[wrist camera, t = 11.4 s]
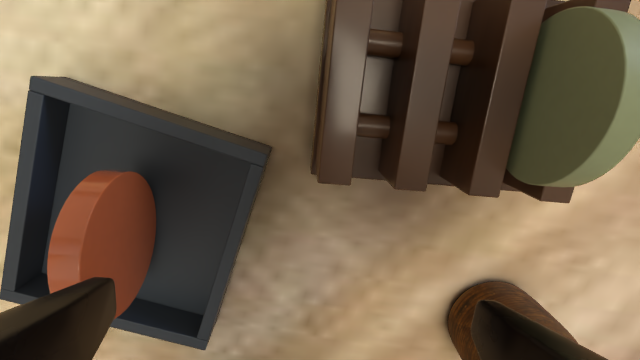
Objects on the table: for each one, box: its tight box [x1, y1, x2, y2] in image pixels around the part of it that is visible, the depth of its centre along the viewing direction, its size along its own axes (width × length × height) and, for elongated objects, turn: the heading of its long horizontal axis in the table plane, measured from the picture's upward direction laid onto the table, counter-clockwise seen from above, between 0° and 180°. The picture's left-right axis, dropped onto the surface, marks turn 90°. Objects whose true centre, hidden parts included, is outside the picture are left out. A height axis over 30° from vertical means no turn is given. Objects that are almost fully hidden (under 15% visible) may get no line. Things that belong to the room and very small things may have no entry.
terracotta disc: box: [47, 169, 156, 319], centre depth 16 cm, size 7×1×7 cm, turn 174°
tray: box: [0, 76, 272, 350], centre depth 19 cm, size 12×11×2 cm
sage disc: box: [506, 6, 640, 188], centre depth 14 cm, size 7×1×7 cm, turn 174°
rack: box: [311, 0, 631, 203], centre depth 17 cm, size 10×12×5 cm
